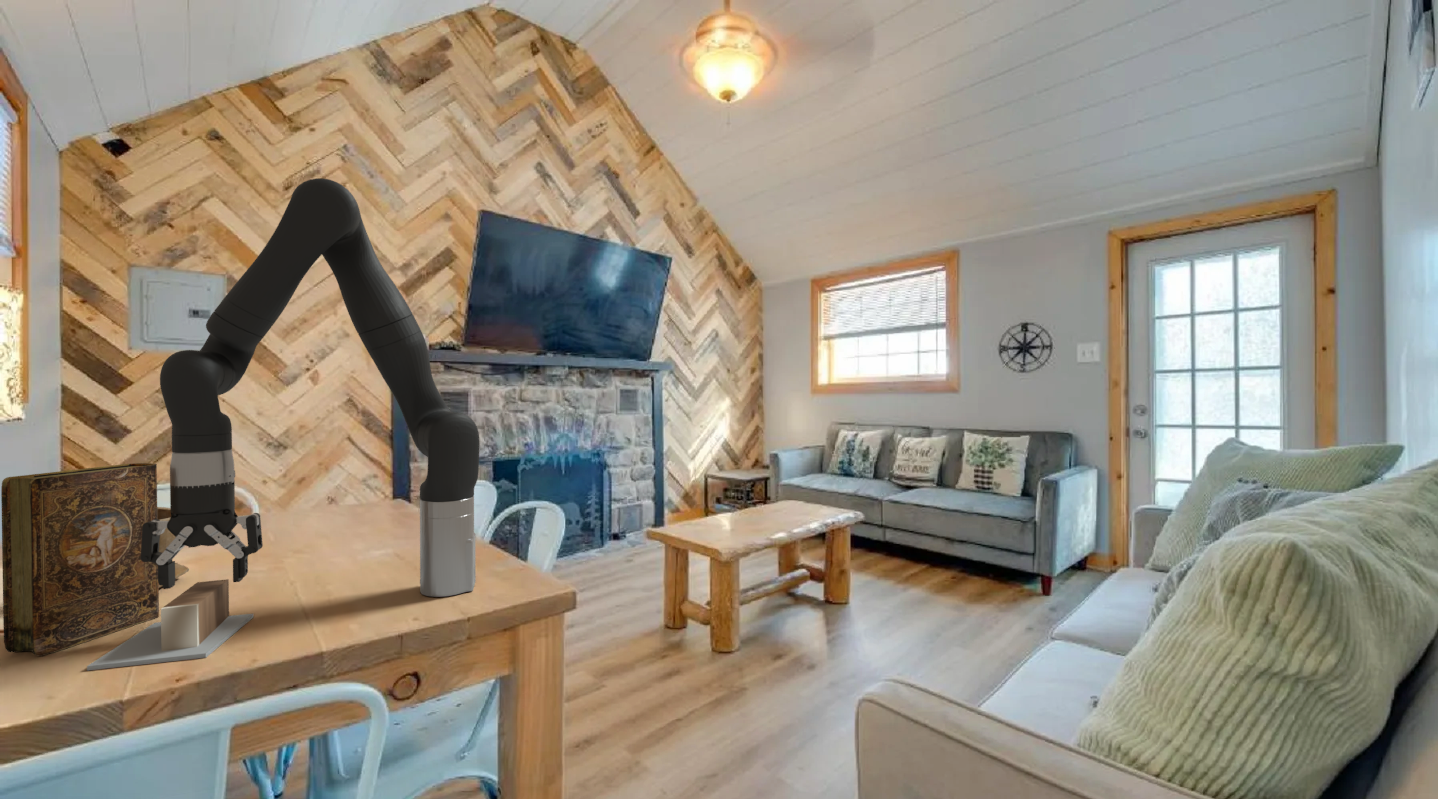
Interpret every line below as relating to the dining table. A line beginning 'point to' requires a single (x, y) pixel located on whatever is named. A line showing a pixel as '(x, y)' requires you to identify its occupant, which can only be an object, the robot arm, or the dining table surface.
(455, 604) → the dining table surface
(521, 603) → the dining table surface
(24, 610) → the book
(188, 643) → the brown rectangular block
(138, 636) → the felt mat
